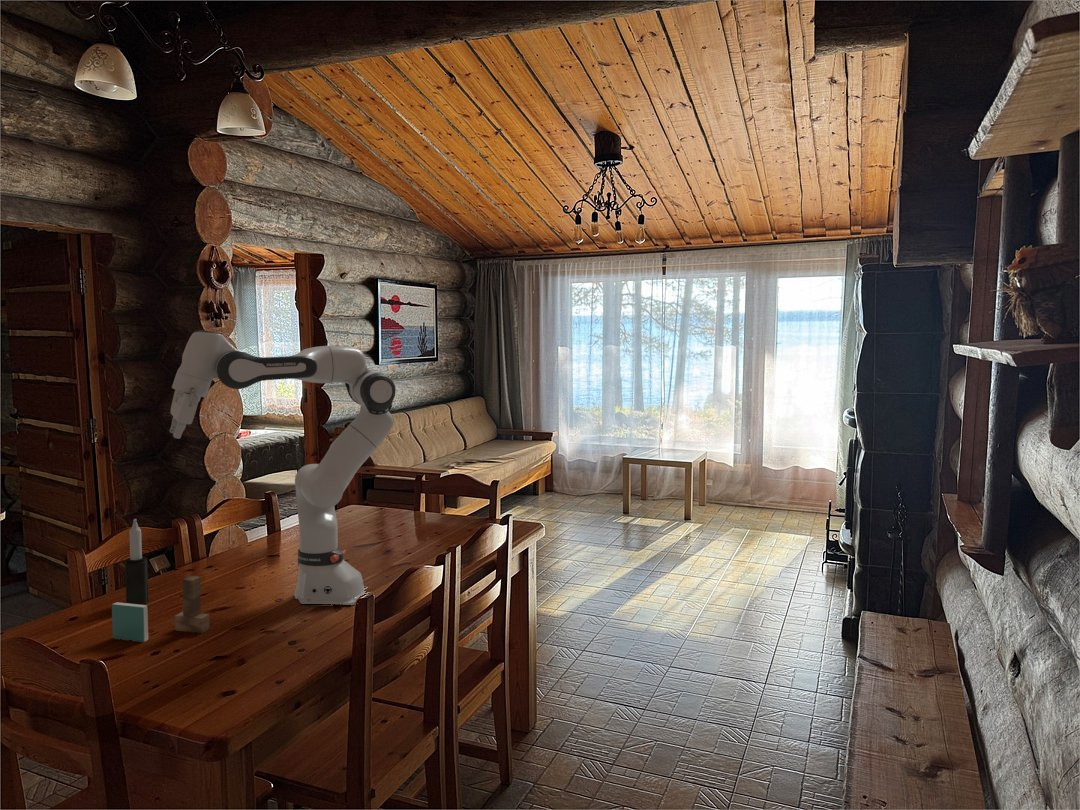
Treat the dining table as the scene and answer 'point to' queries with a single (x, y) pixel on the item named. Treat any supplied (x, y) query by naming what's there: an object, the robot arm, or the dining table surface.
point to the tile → (130, 622)
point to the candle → (136, 570)
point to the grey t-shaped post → (192, 608)
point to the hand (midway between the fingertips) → (174, 435)
